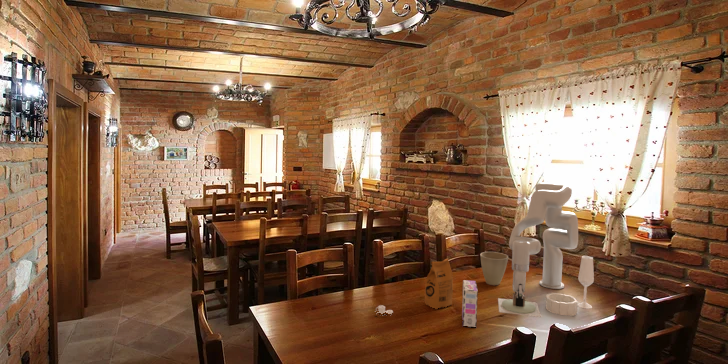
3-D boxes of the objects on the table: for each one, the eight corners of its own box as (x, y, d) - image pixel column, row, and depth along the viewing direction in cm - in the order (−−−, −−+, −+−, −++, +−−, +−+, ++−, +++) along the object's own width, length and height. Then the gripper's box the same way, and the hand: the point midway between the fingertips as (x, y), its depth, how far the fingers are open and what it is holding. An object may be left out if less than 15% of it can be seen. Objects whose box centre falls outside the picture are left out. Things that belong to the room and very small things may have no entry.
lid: (501, 299, 210) (501, 288, 210) (533, 303, 206) (534, 291, 206) (502, 311, 196) (503, 298, 195) (537, 315, 192) (537, 302, 191)
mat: (498, 299, 212) (498, 298, 212) (536, 303, 207) (536, 302, 207) (499, 313, 195) (499, 312, 195) (541, 318, 190) (541, 316, 190)
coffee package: (421, 303, 206) (422, 259, 204) (441, 299, 212) (442, 256, 210) (434, 310, 197) (436, 264, 195) (454, 305, 204) (456, 261, 201)
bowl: (544, 304, 207) (544, 292, 206) (573, 307, 203) (574, 295, 203) (547, 314, 194) (548, 301, 194) (578, 317, 191) (579, 305, 190)
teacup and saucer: (394, 313, 195) (394, 304, 194) (389, 320, 187) (389, 311, 187) (376, 310, 198) (376, 302, 197) (370, 317, 190) (370, 308, 190)
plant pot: (475, 284, 235) (476, 256, 233) (484, 277, 247) (485, 250, 246) (502, 289, 226) (503, 260, 225) (510, 282, 239) (511, 254, 237)
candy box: (476, 328, 179) (478, 290, 177) (462, 327, 180) (463, 289, 178) (474, 315, 192) (476, 280, 191) (461, 314, 193) (462, 279, 192)
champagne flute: (594, 309, 201) (597, 259, 199) (578, 307, 203) (581, 258, 200) (589, 303, 208) (592, 255, 205) (574, 302, 209) (577, 255, 207)
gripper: (510, 261, 209) (509, 296, 210) (513, 271, 192) (511, 309, 194) (527, 262, 207) (525, 297, 208) (530, 272, 190) (528, 311, 192)
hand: (518, 303), depth 201 cm, fingers open, 7 cm apart
